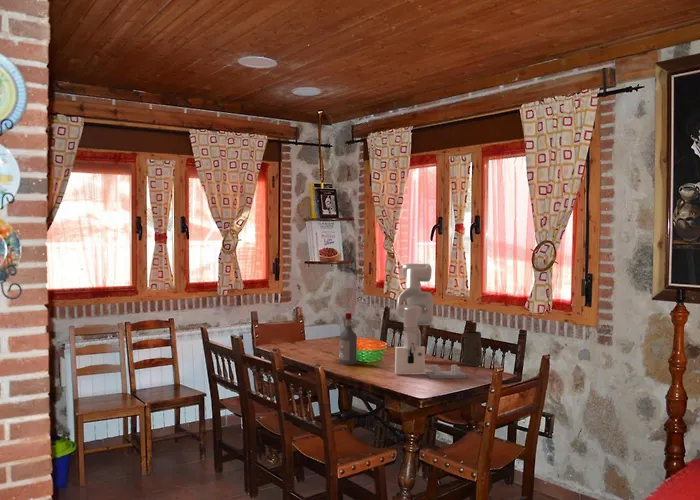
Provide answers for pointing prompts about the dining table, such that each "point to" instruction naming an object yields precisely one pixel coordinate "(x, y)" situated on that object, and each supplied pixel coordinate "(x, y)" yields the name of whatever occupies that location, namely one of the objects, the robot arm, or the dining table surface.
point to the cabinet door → (402, 360)
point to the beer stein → (471, 348)
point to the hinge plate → (446, 372)
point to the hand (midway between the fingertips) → (409, 362)
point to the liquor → (348, 344)
